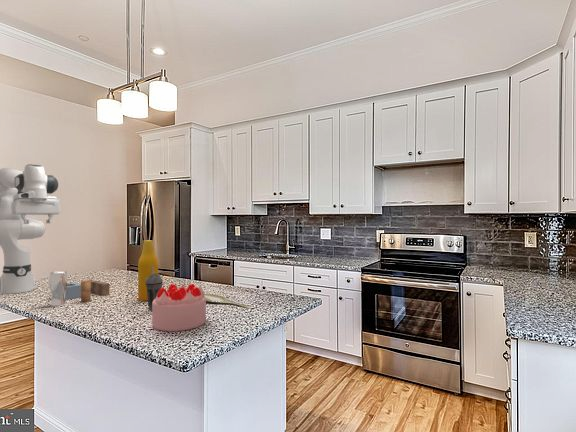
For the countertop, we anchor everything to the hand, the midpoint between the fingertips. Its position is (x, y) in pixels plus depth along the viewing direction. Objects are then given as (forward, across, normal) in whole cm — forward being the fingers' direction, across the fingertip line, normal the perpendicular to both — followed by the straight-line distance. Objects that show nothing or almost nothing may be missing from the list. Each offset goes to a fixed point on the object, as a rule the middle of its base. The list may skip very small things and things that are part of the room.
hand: (37, 223), depth 172 cm
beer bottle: (+43, -30, +42) cm, 67 cm away
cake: (+48, -14, +86) cm, 100 cm away
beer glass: (+40, 0, +18) cm, 44 cm away
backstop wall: (+39, -22, +9) cm, 45 cm away
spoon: (+48, -46, +80) cm, 104 cm away
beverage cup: (+45, -21, +60) cm, 78 cm away
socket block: (+38, -9, +7) cm, 40 cm away
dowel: (+40, -10, +23) cm, 47 cm away
